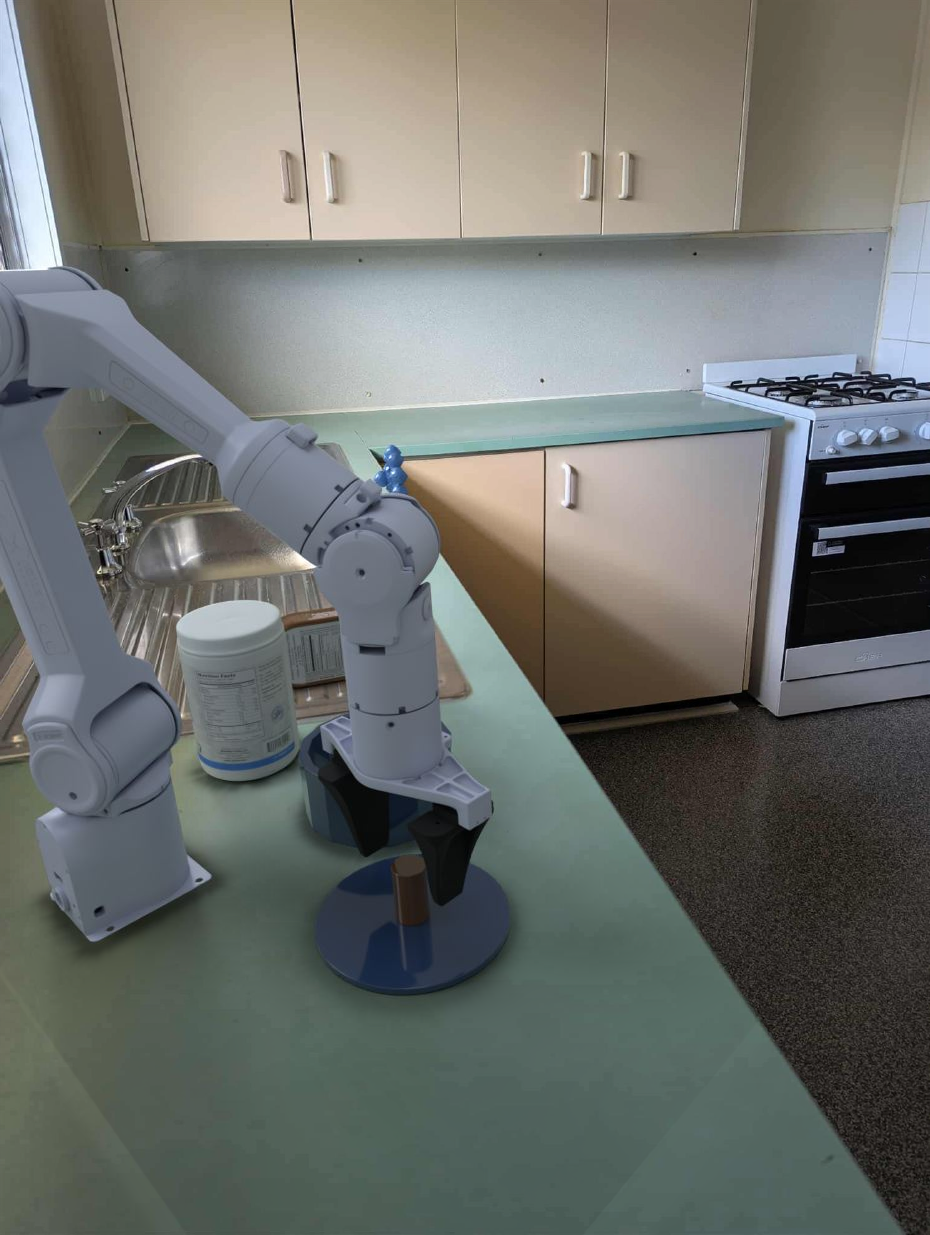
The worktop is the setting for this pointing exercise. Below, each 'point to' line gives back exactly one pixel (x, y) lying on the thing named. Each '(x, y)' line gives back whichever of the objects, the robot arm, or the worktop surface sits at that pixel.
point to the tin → (314, 647)
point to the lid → (410, 928)
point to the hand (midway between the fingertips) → (409, 872)
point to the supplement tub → (239, 688)
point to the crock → (326, 810)
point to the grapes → (392, 472)
